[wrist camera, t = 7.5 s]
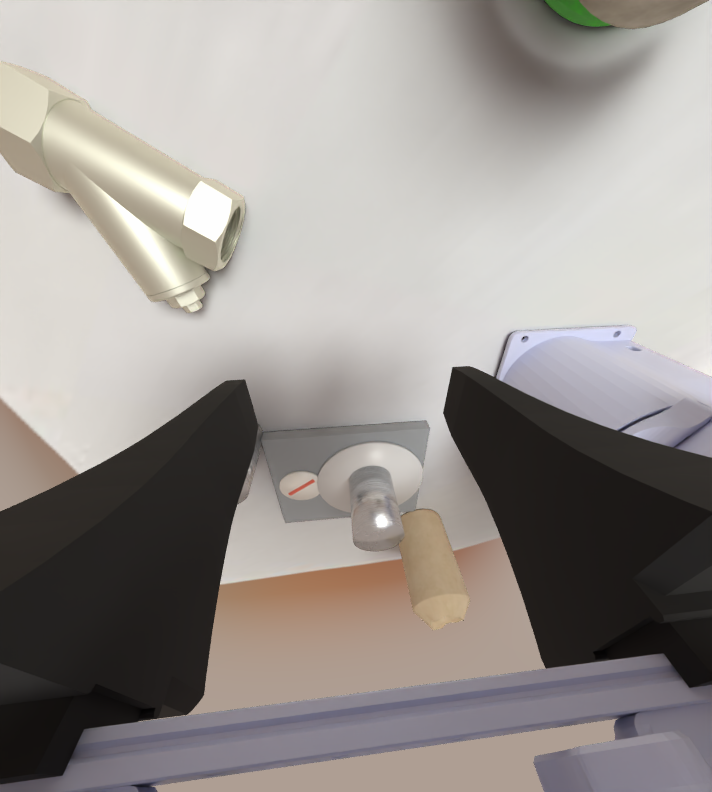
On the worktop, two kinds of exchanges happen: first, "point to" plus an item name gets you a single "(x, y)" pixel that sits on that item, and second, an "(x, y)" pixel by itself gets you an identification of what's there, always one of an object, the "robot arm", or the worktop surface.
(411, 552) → the candle
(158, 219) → the pipe fitting
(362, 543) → the cylinder
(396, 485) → the scale
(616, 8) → the multicoloured stacked round part
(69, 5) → the worktop surface
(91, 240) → the worktop surface
